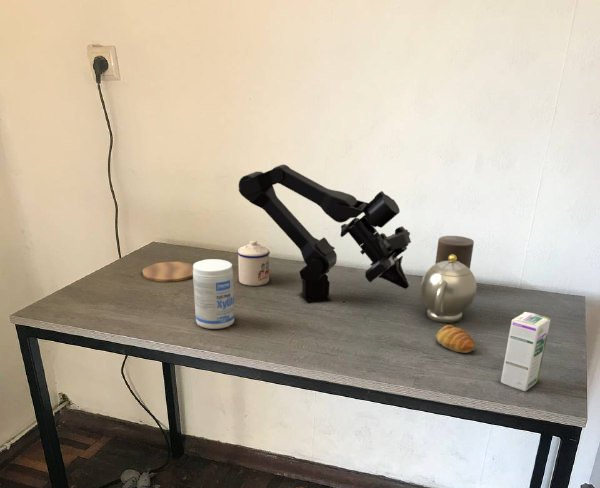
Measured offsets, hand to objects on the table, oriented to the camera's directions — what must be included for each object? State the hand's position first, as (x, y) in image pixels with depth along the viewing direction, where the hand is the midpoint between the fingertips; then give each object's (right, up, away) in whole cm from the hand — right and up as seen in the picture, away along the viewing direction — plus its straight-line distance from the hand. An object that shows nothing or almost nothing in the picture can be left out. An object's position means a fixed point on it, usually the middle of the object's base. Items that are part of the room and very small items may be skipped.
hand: (407, 287), depth 161 cm
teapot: (+9, -8, 0) cm, 12 cm away
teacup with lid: (-40, +6, +23) cm, 47 cm away
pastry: (+9, -16, -13) cm, 22 cm away
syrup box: (+18, -25, -28) cm, 42 cm away
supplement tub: (-48, -10, -4) cm, 49 cm away
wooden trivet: (-65, +9, +27) cm, 72 cm away
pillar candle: (+16, +4, +21) cm, 26 cm away
